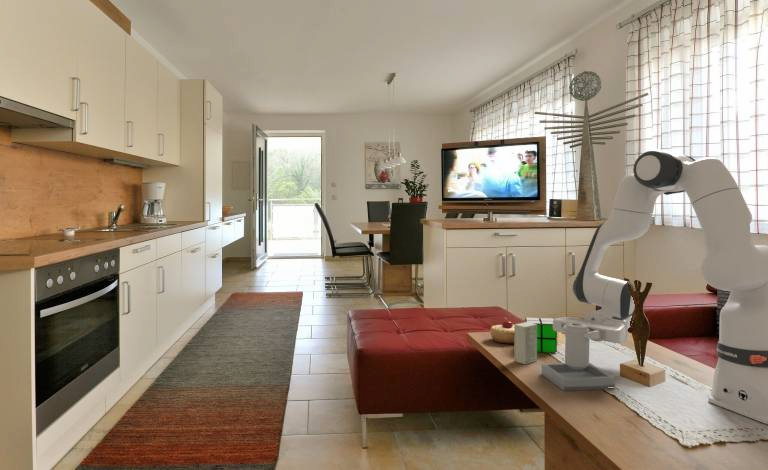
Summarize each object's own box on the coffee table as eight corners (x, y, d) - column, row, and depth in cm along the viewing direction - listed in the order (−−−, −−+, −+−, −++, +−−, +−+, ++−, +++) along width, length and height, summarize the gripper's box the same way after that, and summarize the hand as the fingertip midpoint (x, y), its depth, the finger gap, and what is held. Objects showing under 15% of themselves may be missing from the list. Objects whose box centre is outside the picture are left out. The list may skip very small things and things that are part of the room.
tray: (614, 388, 136) (615, 377, 136) (564, 390, 135) (564, 379, 135) (587, 371, 151) (587, 362, 151) (541, 374, 149) (541, 363, 149)
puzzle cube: (553, 346, 181) (554, 318, 180) (556, 353, 171) (557, 324, 171) (524, 344, 183) (525, 317, 183) (526, 352, 173) (526, 323, 173)
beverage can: (585, 363, 146) (585, 322, 146) (591, 370, 140) (592, 327, 139) (562, 362, 147) (563, 321, 146) (568, 369, 141) (568, 327, 140)
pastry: (497, 346, 181) (497, 321, 181) (485, 338, 193) (485, 315, 192) (528, 344, 183) (529, 320, 183) (515, 336, 195) (515, 313, 194)
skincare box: (526, 358, 166) (526, 321, 165) (537, 361, 162) (537, 324, 161) (513, 361, 162) (513, 324, 162) (524, 364, 158) (524, 326, 158)
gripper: (566, 310, 159) (541, 316, 150) (632, 321, 143) (610, 328, 134) (565, 330, 159) (541, 337, 150) (632, 342, 144) (610, 352, 135)
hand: (574, 333), depth 142 cm, fingers closed on beverage can, 5 cm apart
